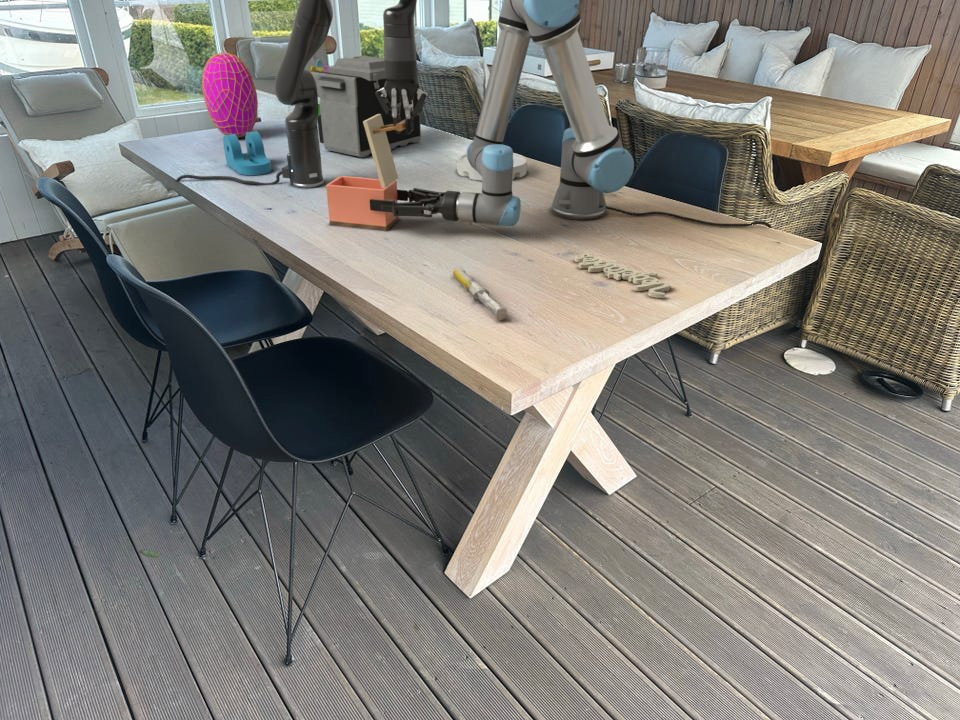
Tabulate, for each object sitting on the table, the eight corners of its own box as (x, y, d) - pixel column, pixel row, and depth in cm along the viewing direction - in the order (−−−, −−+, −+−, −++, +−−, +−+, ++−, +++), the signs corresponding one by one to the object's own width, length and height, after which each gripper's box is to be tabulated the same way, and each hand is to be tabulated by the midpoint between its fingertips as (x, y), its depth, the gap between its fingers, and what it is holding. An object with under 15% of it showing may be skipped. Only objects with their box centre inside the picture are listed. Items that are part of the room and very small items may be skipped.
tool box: (383, 133, 276) (378, 52, 261) (425, 141, 265) (422, 56, 250) (314, 150, 251) (304, 61, 235) (358, 160, 240) (350, 67, 224)
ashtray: (459, 161, 239) (459, 150, 237) (525, 163, 239) (526, 151, 237) (455, 180, 219) (455, 167, 217) (527, 181, 219) (528, 169, 217)
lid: (362, 121, 166) (396, 114, 163) (376, 114, 174) (409, 107, 171) (381, 188, 174) (414, 182, 171) (394, 178, 181) (426, 173, 178)
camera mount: (227, 164, 233) (221, 132, 227) (257, 160, 238) (252, 129, 233) (244, 176, 220) (239, 143, 215) (276, 172, 225) (271, 139, 220)
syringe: (449, 274, 155) (449, 263, 153) (465, 272, 156) (464, 260, 154) (490, 323, 135) (491, 310, 133) (508, 319, 136) (508, 307, 134)
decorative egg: (227, 145, 256) (212, 58, 241) (201, 136, 267) (185, 53, 252) (272, 137, 268) (260, 53, 253) (245, 129, 280) (233, 49, 264)
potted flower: (317, 124, 290) (310, 59, 277) (312, 120, 296) (305, 57, 283) (338, 122, 294) (333, 58, 281) (333, 118, 300) (327, 56, 287)
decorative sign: (686, 282, 150) (660, 295, 144) (686, 286, 150) (659, 300, 144) (592, 249, 166) (565, 259, 160) (592, 253, 167) (565, 263, 161)
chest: (329, 224, 183) (325, 185, 177) (344, 214, 190) (340, 175, 185) (386, 230, 179) (383, 190, 174) (398, 219, 187) (396, 180, 181)
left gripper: (433, 56, 163) (434, 132, 172) (378, 54, 166) (383, 128, 174) (423, 60, 156) (425, 138, 165) (366, 58, 159) (371, 134, 168)
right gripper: (447, 235, 168) (362, 226, 173) (470, 207, 187) (393, 200, 191) (447, 205, 165) (360, 197, 169) (471, 180, 183) (391, 173, 188)
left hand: (403, 133), depth 170 cm, fingers closed, pressing on lid
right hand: (377, 199), depth 180 cm, fingers closed on chest, 9 cm apart
